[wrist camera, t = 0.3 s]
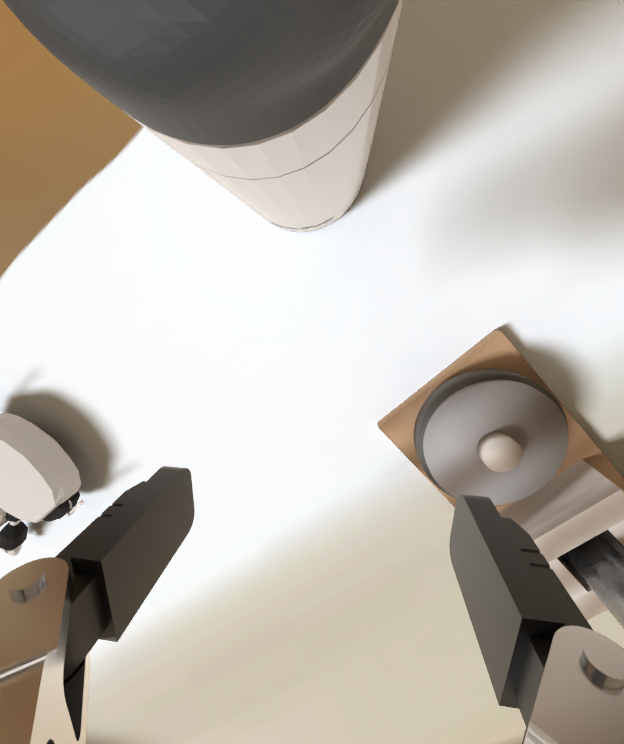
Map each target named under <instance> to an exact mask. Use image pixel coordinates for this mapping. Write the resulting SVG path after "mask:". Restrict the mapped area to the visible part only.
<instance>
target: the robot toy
mask: <svg viewBox="0 0 624 744" xmlns="http://www.w3.org/2000/svg"><path fill="white" fill-rule="evenodd" d="M80 486H81V480H80V474H79V471H78V469H77V467H76V466H75V464H74V463H73V461H72V460H71V458H70V457H69V456H68V454H67V453H66V452H65V451H64V450H63V449H62V447H61V446H60V445H59V444H58V443H57V442H56V440H55V439H53V438H52V437H51V436H49V435H48V434H47V433H45V432H44V431H43V430H41V429H40V428H39V427H37V426H36V425H34V424H33V423H31V422H29V421H28V420H26V419H24V418H22V417H20V416H17V415H13V414H10V413H3V414H0V526H2V525H3V524H4V523H6V522H7V521H9V523H8V524H7V525H6V526H5V527H4V528H3V529H2V530H1V531H0V548H1V549H2V551H4V552H6V553H8V552H9V554H10V555H12V556H15V555H17V554H18V553H19V551H20V549H21V544H22V543H23V542H24V541H25V539H26V536H27V530H28V527H27V526H26V525H25V524H24V523H23V522H22V521H21V520H23V521H29V522H34V523H36V522H39V521H42V520H45V521H53V520H56V519H60V518H62V517H63V516H64V515H66V516H67V517H69V516H70V515H71V514H72V513H73V512H74V510H75V509H77V508H78V507H80V506H81V505H82V504H83V503H84V501H83V500H82V501H81V502H80V503H78V504H77V501H78V499H79V497H80V493H79V491H78V490H79V488H80ZM76 504H77V506H76V507H75V508H73V507H74V506H75V505H76ZM72 508H73V509H72Z"/></svg>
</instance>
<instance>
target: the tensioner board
mask: <svg viewBox="0 0 624 744" xmlns="http://www.w3.org/2000/svg"><path fill="white" fill-rule="evenodd" d="M378 427H379V429H380V430H381V431H382V432H383V433H384V434H385V435H386V436H387V437H388V438H389V439H390V440H391V441H392V442H393V443H394V444H395V445H396V446H397V447H398V448H399V449H400V451H401V452H402V453H403V454H404V455H405V456H406V457H407V458H408V459H409V460H410V461H411V462H412V463H413V464H414V465H415V466H416V467H417V468H418V469H419V470H420V471H421V472H422V473H423V474H424V476H425V477H426V478H427V479H428V480H429V481H430V482H431V483H432V484H433V485H434V486H435V487H436V488H437V489H438V490H439V491H440V492H441V493H442V494H443V495H444V496H445V497H446V498H447V500H448V501H449V502H450V503H451V504H452V505H453V506H454V507H455V505H456V500H457V497H458V495H460V494H462V495H473V496H484V497H489V498H490V499H491V501H492V502H493V504H494V506H495V507H496V509H497V511H498V512H499V514H500V516H501V517H503V518H511V519H512V520H513V521H515V522H516V523H517V524H518V525H519V526H520V527H522V528H523V529H524V530H525V531H526V532H528V533H529V535H530V536H531V538H532V539H533V541H534V542H535V544H536V545H537V547H538V548H539V550H540V554H543V556H544V557H545V559H546V560H547V562H548V563H549V565H550V569H553V571H554V572H555V574H556V575H557V577H558V578H559V580H560V581H561V583H562V584H563V586H564V587H565V589H566V590H567V592H568V593H569V595H570V596H571V598H572V599H573V601H574V602H575V604H576V605H577V607H578V608H579V610H580V611H581V613H582V614H583V616H584V617H585V619H586V620H588V619H590V618H592V617H594V616H596V615H598V614H600V613H602V612H604V611H606V610H608V609H607V607H606V606H605V605H604V604H603V602H602V601H601V600H600V599H599V597H598V596H597V595H596V594H595V592H594V591H593V590H592V589H591V587H590V586H589V585H588V584H587V582H586V581H585V580H584V579H583V577H582V576H581V575H580V574H579V572H578V571H577V570H576V569H575V567H574V566H573V565H572V564H571V562H570V561H569V560H568V559H567V557H566V556H565V555H564V554H565V553H567V552H568V551H570V550H572V549H574V548H576V547H577V546H579V545H581V544H583V543H584V542H586V541H588V540H590V539H592V538H593V537H595V536H597V535H599V534H601V535H602V536H603V537H604V538H605V539H606V540H607V541H609V542H610V543H611V544H612V545H613V546H614V547H615V548H616V549H617V550H618V551H619V552H620V553H621V554H622V555H623V556H624V478H623V477H622V475H621V474H620V473H619V472H618V471H617V469H616V468H615V467H614V466H613V465H612V463H611V462H610V461H609V460H608V459H607V457H606V456H605V455H604V454H603V453H602V451H601V450H600V449H599V448H598V447H597V445H596V444H595V443H594V442H593V441H592V439H591V438H590V437H589V436H588V435H587V433H586V432H585V431H584V430H583V429H582V427H581V426H580V425H579V424H578V423H577V421H576V420H575V419H574V418H573V417H572V415H571V414H570V413H569V412H568V411H567V409H566V408H565V407H564V406H563V405H562V403H561V402H560V401H559V400H558V399H557V397H556V396H555V395H554V394H553V393H552V391H551V390H550V389H549V388H548V387H547V385H546V384H545V383H544V382H543V381H542V379H541V378H540V377H539V376H538V375H537V373H536V372H535V371H534V370H533V369H532V368H531V366H530V365H529V364H528V363H527V362H526V360H525V359H524V358H523V357H522V356H521V354H520V353H519V352H518V351H517V350H516V348H515V347H514V346H513V345H512V344H511V342H510V341H509V340H508V339H507V338H506V336H505V335H504V334H503V333H502V332H501V331H499V330H496V329H495V330H494V331H493V332H491V333H490V334H489V335H488V336H486V337H485V338H484V339H483V340H481V341H480V342H479V343H477V344H476V345H475V346H474V347H472V348H471V349H470V350H469V351H467V352H466V353H465V354H464V355H462V356H461V357H460V358H459V359H457V360H456V361H455V362H454V363H452V364H451V365H450V366H448V367H447V368H446V369H445V370H443V371H442V372H441V373H440V374H438V375H437V376H436V377H435V378H433V379H432V380H431V381H430V382H428V383H427V384H426V385H424V386H423V387H422V388H421V389H419V390H418V391H417V392H416V393H414V394H413V395H412V396H411V397H409V398H408V399H407V400H406V401H404V402H403V403H402V404H400V405H399V406H398V407H397V408H395V409H394V410H393V411H392V412H390V413H389V414H388V415H387V416H385V417H384V418H383V419H382V420H380V421H379V422H378Z"/></svg>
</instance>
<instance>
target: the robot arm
mask: <svg viewBox="0 0 624 744" xmlns="http://www.w3.org/2000/svg"><path fill="white" fill-rule="evenodd" d="M3 1H4V2H5V3H6V5H7V6H8V7H9V8H10V9H11V11H12V12H13V13H14V14H15V15H16V16H17V18H18V19H19V20H20V21H21V22H22V23H23V25H24V26H25V27H26V28H27V29H28V30H29V31H30V32H31V33H32V34H33V35H34V36H35V37H36V38H37V39H38V40H39V41H40V42H41V43H42V44H43V45H44V46H45V47H46V48H47V49H48V50H49V51H50V52H51V53H52V54H53V55H54V56H55V57H56V58H57V59H59V60H60V61H61V62H62V63H63V64H65V65H66V66H67V67H68V68H69V69H70V70H72V71H73V72H74V73H75V74H76V75H78V76H79V77H80V78H81V79H82V80H84V81H85V82H86V83H88V85H90V86H91V87H92V88H94V89H95V90H96V91H98V92H99V93H100V94H102V95H103V96H104V97H106V98H107V99H108V100H110V101H111V102H112V103H114V104H115V105H116V106H117V107H119V108H120V109H121V110H123V111H124V112H125V113H126V114H128V115H129V116H130V117H132V118H133V119H134V120H136V121H137V122H138V123H140V124H141V125H142V126H144V127H145V128H146V129H147V130H149V131H150V132H151V133H153V134H154V135H155V136H157V137H158V138H159V139H161V140H162V141H163V142H165V143H166V144H167V145H168V146H170V147H171V148H172V149H174V150H175V151H177V152H178V153H179V154H181V155H182V156H183V157H185V158H186V159H187V160H189V161H190V162H191V163H193V164H194V165H195V166H196V167H198V168H199V169H200V170H202V171H203V172H204V173H206V174H207V175H208V176H210V177H211V178H212V179H214V180H215V181H216V182H217V183H219V184H220V185H221V186H223V187H224V188H225V189H227V190H228V191H229V192H231V193H232V194H233V195H234V196H236V197H237V198H238V199H240V200H241V201H242V202H244V203H245V204H246V205H248V206H249V207H250V208H251V209H253V210H254V211H255V212H257V213H258V214H259V215H261V216H262V217H263V218H265V219H266V220H267V221H268V222H270V223H272V224H274V225H276V226H278V227H279V228H282V229H285V230H289V231H293V232H309V231H314V230H319V229H321V228H323V227H326V226H328V225H330V224H332V223H333V222H334V221H336V220H337V219H339V218H340V217H341V216H342V215H343V214H344V213H345V212H346V211H347V210H348V209H349V208H350V206H351V205H352V203H353V202H354V200H355V198H356V197H357V195H358V193H359V191H360V188H361V185H362V182H363V180H364V176H365V171H366V167H367V163H368V159H369V154H370V150H371V145H372V141H373V137H374V132H375V128H376V123H377V119H378V114H379V110H380V105H381V101H382V96H383V92H384V87H385V83H386V79H387V74H388V70H389V65H390V61H391V56H392V52H393V47H394V43H395V38H396V34H397V27H398V23H399V18H400V14H401V9H402V5H403V0H3ZM193 519H194V501H193V491H192V480H191V473H190V471H189V469H187V468H177V467H166V466H164V467H161V468H160V469H159V470H158V471H157V472H156V473H155V474H154V475H153V476H152V477H151V478H150V479H149V480H148V481H147V482H145V481H143V482H141V483H139V484H138V485H136V486H134V487H132V488H130V489H129V490H127V491H125V492H124V493H123V494H122V495H121V496H120V497H119V498H118V499H117V500H116V501H115V502H114V503H113V505H112V506H109V507H108V508H107V509H106V510H105V511H104V512H103V513H102V515H101V517H98V518H97V519H95V520H94V521H93V522H92V523H91V524H90V525H89V526H88V527H87V528H86V529H85V530H84V531H83V532H82V533H80V534H79V535H78V536H77V537H76V538H75V539H74V540H73V541H72V542H71V543H70V544H69V545H68V546H67V547H66V548H64V549H63V550H62V551H61V552H60V553H59V554H58V555H57V556H56V557H55V558H54V557H50V558H42V559H38V560H34V561H32V562H29V563H26V564H24V565H22V566H20V567H18V568H16V569H14V570H13V571H11V572H9V573H8V574H6V575H5V576H4V577H2V578H1V579H0V744H86V729H87V710H88V692H89V674H90V655H89V651H90V650H91V649H92V647H93V646H94V644H95V643H96V641H97V640H98V639H102V640H108V641H114V642H117V641H118V640H119V638H120V637H121V635H122V634H123V632H124V631H125V629H126V628H127V626H128V625H129V623H130V622H131V620H132V618H133V617H134V615H135V614H136V612H137V611H138V609H139V608H140V606H141V605H142V603H143V602H144V600H145V599H146V597H147V595H148V594H149V592H150V591H151V589H152V588H153V586H154V585H155V583H156V582H157V580H158V579H159V577H160V576H161V574H162V573H163V571H164V569H165V568H166V566H167V565H168V563H169V562H170V560H171V559H172V557H173V556H174V554H175V553H176V551H177V550H178V548H179V546H180V545H181V543H182V542H183V540H184V539H185V537H186V536H187V534H188V533H189V531H190V529H191V526H192V523H193ZM450 555H451V561H452V565H453V568H454V571H455V574H456V577H457V580H458V583H459V586H460V589H461V592H462V595H463V598H464V601H465V604H466V607H467V610H468V613H469V616H470V619H471V622H472V625H473V628H474V631H475V634H476V637H477V640H478V643H479V646H480V649H481V652H482V655H483V658H484V661H485V664H486V667H487V670H488V673H489V676H490V679H491V682H492V685H493V688H494V691H495V694H496V697H497V700H498V703H499V705H500V706H506V707H512V708H518V709H520V711H521V714H522V717H523V719H524V722H525V725H526V730H525V733H524V736H523V740H522V744H624V648H622V647H621V646H619V645H618V644H617V643H615V642H614V641H612V640H611V639H609V638H607V637H606V636H604V635H602V634H600V633H598V632H595V631H593V629H592V628H591V626H590V625H589V623H588V622H587V620H586V619H585V617H584V616H583V614H582V613H581V611H580V610H579V608H578V607H577V605H576V604H575V602H574V601H573V599H572V598H571V596H570V595H569V593H568V592H567V590H566V589H565V587H564V586H563V584H562V583H561V581H560V580H559V578H558V577H557V575H556V574H555V572H554V571H553V569H550V565H549V563H548V562H547V560H546V559H545V557H544V556H543V554H540V550H539V548H538V547H537V545H536V544H535V542H534V541H533V539H532V538H531V536H530V535H529V533H528V532H526V531H525V530H524V529H523V528H522V527H520V526H519V525H518V524H517V523H516V522H515V521H513V520H512V519H511V518H503V517H501V516H500V514H499V512H498V511H497V509H496V507H495V506H494V504H493V502H492V501H491V499H490V498H489V497H484V496H473V495H462V494H460V495H458V497H457V500H456V505H455V511H454V518H453V524H452V530H451V536H450Z"/></svg>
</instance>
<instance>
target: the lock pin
mask: <svg viewBox="0 0 624 744" xmlns="http://www.w3.org/2000/svg"><path fill="white" fill-rule="evenodd" d="M564 555H565V556H566V557H567V559H568V560H569V561H570V562H571V564H572V565H573V566H574V567H575V569H576V570H577V571H578V572H579V574H580V575H581V576H582V577H583V579H584V580H585V581H586V582H587V584H588V585H589V586H590V587H591V589H592V590H593V591H594V592H595V594H596V595H597V596H598V597H599V599H600V600H601V601H602V602H603V604H604V605H605V606H606V607H607V609H608V610H609V611H610V612H611V613H612V615H613V616H614V617H615V618H616V620H617V621H618V622H619V623H620V625H621V626H622V627H623V628H624V556H623V555H622V554H621V553H620V552H619V551H618V550H617V549H616V548H615V547H614V546H613V545H612V544H611V543H610V542H609V541H607V540H606V539H605V538H604V537H603V536H602V535H601V534H599V535H597V536H595V537H593V538H592V539H590V540H588V541H586V542H584V543H583V544H581V545H579V546H577V547H576V548H574V549H572V550H570V551H568V552H567V553H565V554H564Z"/></svg>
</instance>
